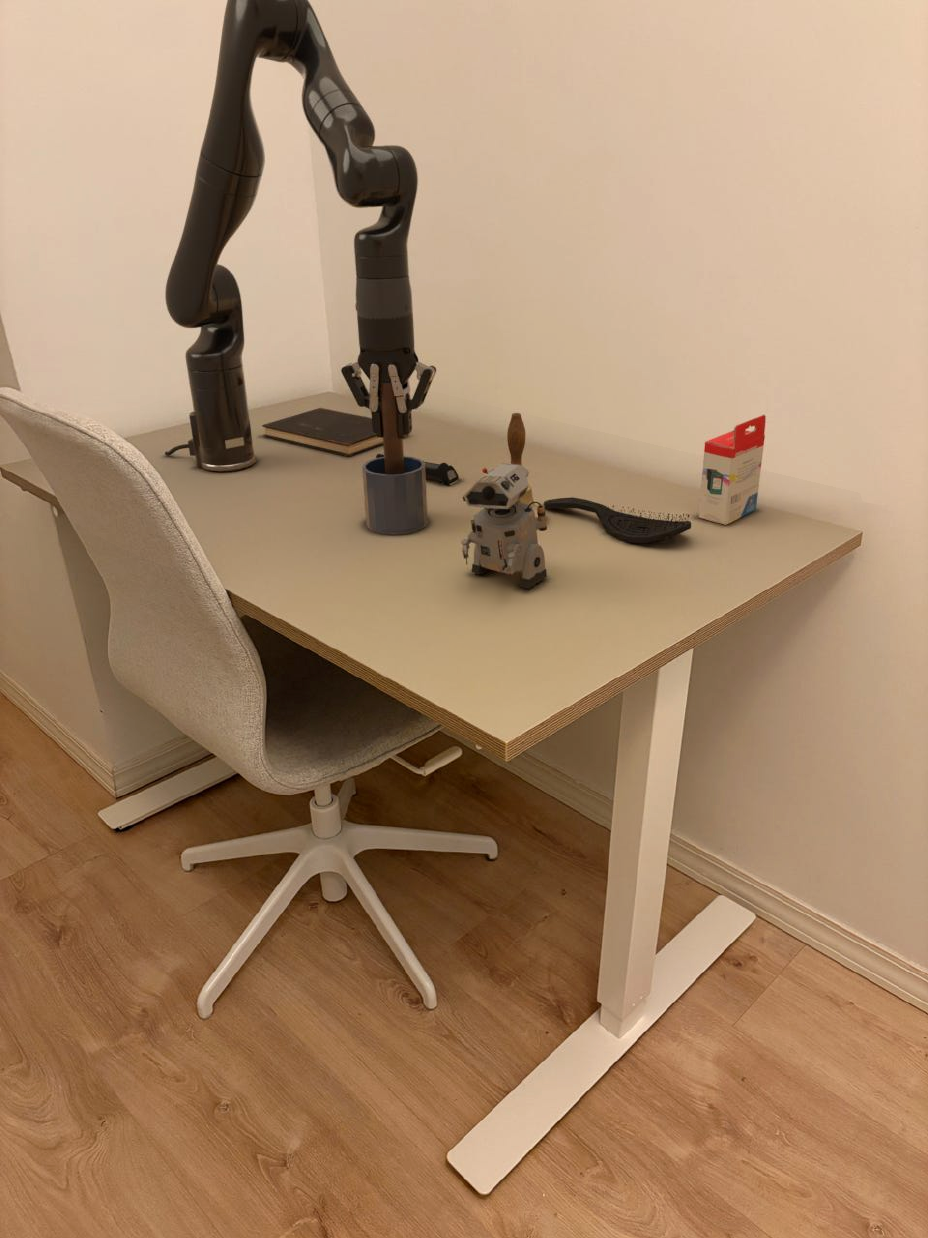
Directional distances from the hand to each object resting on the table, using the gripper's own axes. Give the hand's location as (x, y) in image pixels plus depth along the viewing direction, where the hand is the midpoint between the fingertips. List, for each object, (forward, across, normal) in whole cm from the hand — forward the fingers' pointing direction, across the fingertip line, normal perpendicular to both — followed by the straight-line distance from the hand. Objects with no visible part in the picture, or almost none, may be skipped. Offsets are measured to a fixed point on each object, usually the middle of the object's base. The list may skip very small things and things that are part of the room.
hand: (392, 436), depth 138 cm
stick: (+8, 0, 0) cm, 8 cm away
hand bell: (+14, -17, -5) cm, 22 cm away
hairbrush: (+14, -31, -6) cm, 34 cm away
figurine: (+14, -20, +17) cm, 29 cm away
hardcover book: (+13, +27, -41) cm, 51 cm away
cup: (+13, 0, 0) cm, 13 cm away
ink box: (+14, -47, -14) cm, 51 cm away
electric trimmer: (+14, +4, -21) cm, 25 cm away
